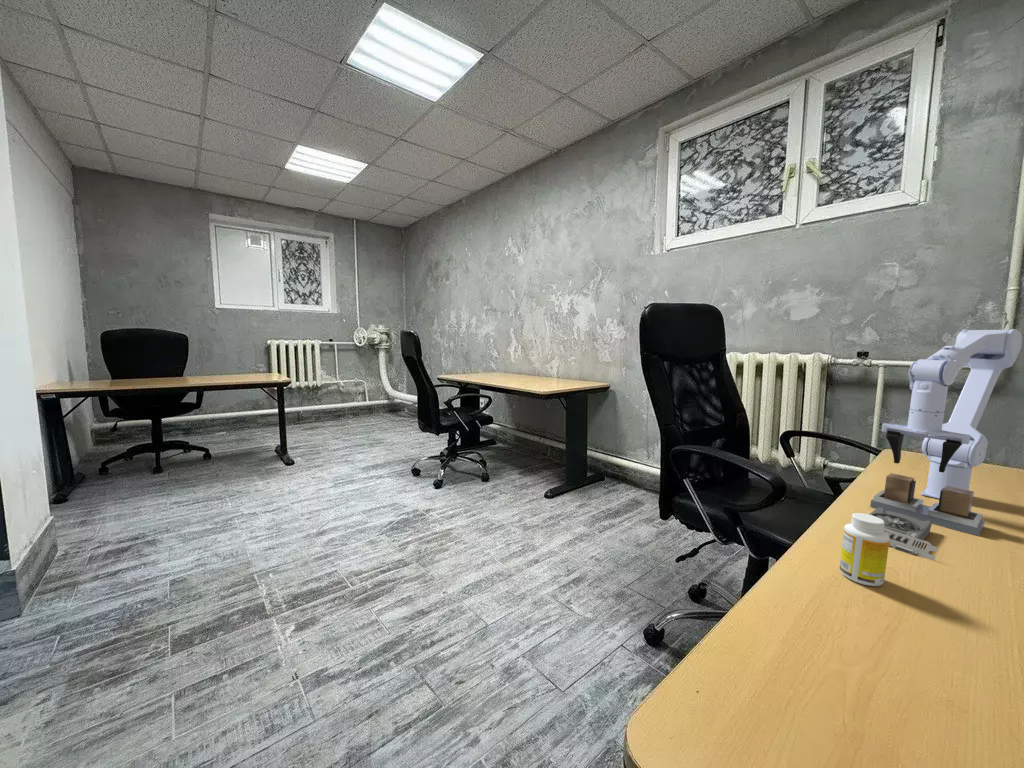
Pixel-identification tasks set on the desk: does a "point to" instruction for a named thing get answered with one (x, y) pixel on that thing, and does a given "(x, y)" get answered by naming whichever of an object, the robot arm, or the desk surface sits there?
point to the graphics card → (906, 532)
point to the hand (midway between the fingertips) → (918, 466)
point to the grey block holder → (939, 510)
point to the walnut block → (899, 488)
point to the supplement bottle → (864, 550)
